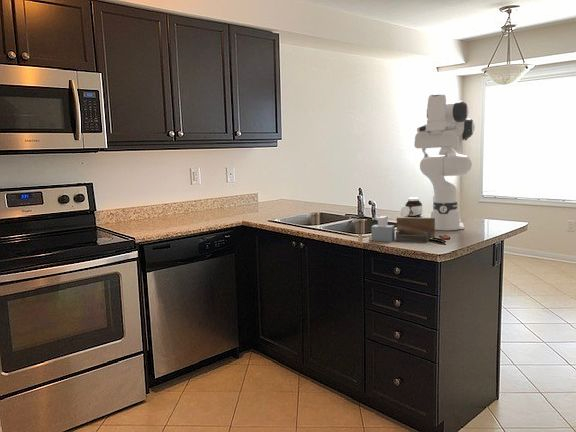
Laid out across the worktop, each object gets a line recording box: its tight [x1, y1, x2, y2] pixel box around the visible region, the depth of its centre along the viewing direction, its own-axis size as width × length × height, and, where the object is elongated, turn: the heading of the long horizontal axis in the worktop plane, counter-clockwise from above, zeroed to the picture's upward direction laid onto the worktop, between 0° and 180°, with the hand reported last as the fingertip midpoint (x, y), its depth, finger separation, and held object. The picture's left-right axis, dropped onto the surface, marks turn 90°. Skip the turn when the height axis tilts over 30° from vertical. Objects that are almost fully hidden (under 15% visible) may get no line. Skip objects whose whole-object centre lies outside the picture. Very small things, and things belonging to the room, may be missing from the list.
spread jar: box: [399, 197, 423, 218], centre depth 292 cm, size 12×11×12 cm
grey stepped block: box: [370, 215, 396, 242], centre depth 228 cm, size 6×10×12 cm, turn 62°
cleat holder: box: [395, 216, 436, 243], centre depth 224 cm, size 10×18×10 cm, turn 62°
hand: (436, 157), depth 223 cm, fingers open, 8 cm apart
